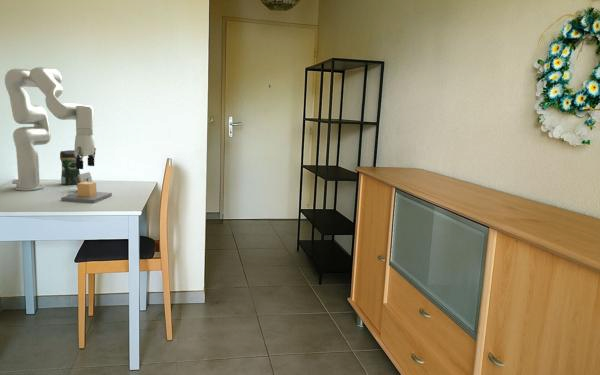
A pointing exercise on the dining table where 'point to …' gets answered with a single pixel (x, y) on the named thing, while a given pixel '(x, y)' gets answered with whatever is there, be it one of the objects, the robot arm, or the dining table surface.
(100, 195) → the plate
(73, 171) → the coffee jar
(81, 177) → the electrical switch
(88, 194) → the tan cardboard cube
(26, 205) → the dining table surface
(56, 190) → the dining table surface
